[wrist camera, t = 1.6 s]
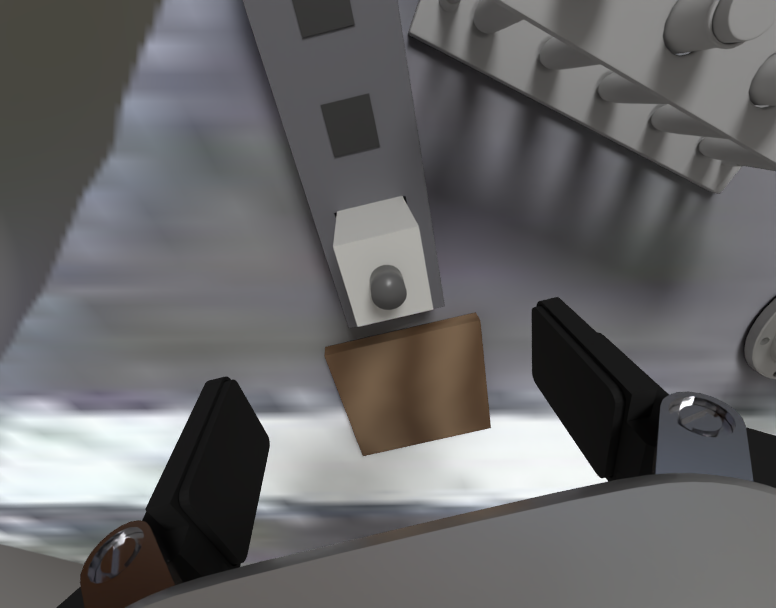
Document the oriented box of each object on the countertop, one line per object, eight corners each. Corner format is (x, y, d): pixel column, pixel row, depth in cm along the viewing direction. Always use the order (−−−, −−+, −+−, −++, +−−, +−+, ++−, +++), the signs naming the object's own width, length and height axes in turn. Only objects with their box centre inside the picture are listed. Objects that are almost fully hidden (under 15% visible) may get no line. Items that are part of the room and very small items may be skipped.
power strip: (370, -107, 18) (375, -157, 14) (434, 284, 29) (446, 309, 25) (232, -71, 18) (204, -112, 14) (348, 304, 29) (348, 332, 25)
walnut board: (475, 312, 30) (480, 320, 29) (486, 418, 37) (490, 427, 36) (325, 346, 31) (324, 355, 30) (362, 446, 37) (362, 456, 36)
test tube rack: (758, 131, 25) (1097, 158, 14) (710, 192, 27) (974, 259, 16) (440, -63, 19) (581, -316, 7) (407, 34, 21) (478, -46, 9)
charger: (397, 187, 24) (424, 237, 15) (409, 249, 26) (439, 325, 17) (338, 201, 24) (331, 259, 15) (355, 262, 26) (358, 344, 17)
